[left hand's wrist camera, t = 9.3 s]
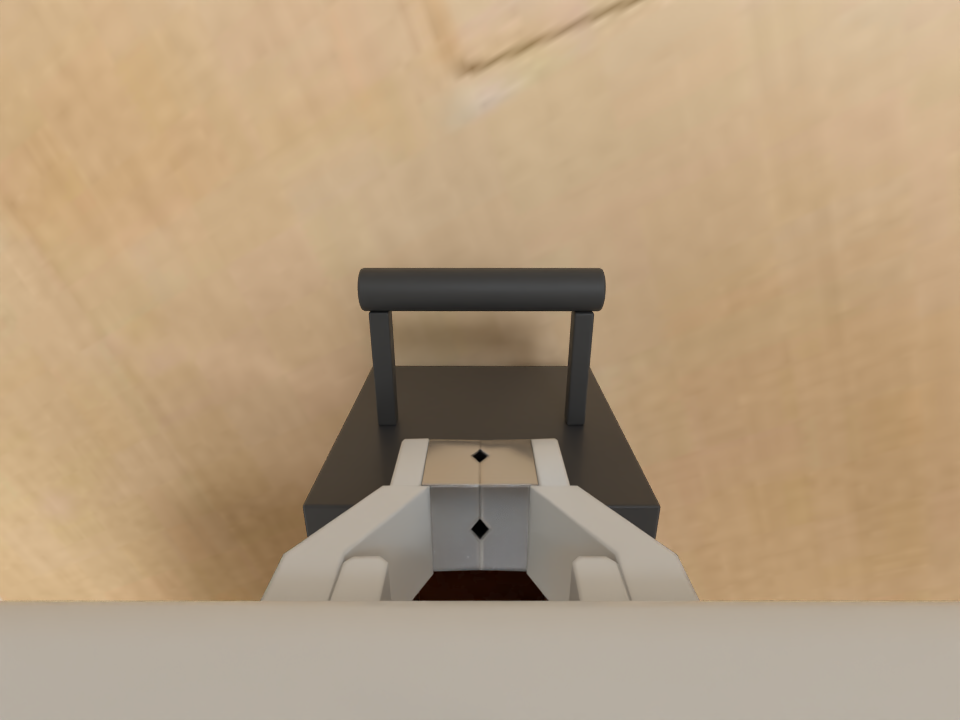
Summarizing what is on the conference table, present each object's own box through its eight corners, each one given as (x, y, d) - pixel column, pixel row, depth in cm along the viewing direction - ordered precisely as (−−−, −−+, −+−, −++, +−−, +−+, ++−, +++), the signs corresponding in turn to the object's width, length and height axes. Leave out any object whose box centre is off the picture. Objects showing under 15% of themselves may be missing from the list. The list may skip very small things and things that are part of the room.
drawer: (362, 241, 20) (270, 311, 11) (600, 242, 20) (693, 311, 11) (394, 628, 27) (354, 847, 19) (566, 628, 27) (606, 848, 19)
